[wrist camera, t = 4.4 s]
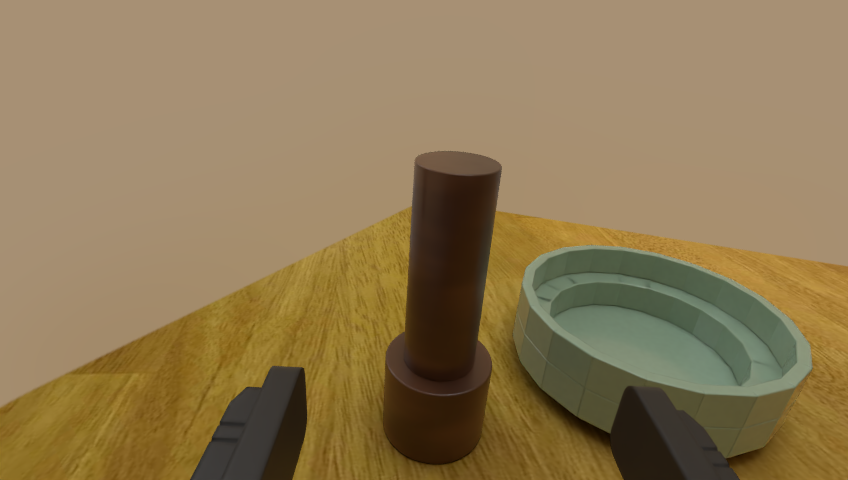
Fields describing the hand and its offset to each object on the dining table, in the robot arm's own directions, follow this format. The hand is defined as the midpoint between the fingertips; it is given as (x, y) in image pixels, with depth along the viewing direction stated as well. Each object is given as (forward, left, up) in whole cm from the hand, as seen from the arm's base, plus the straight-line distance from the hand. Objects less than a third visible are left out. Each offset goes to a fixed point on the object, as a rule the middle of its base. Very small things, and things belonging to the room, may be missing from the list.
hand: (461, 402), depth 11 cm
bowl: (+12, +13, -9) cm, 20 cm away
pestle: (0, +8, -9) cm, 12 cm away
